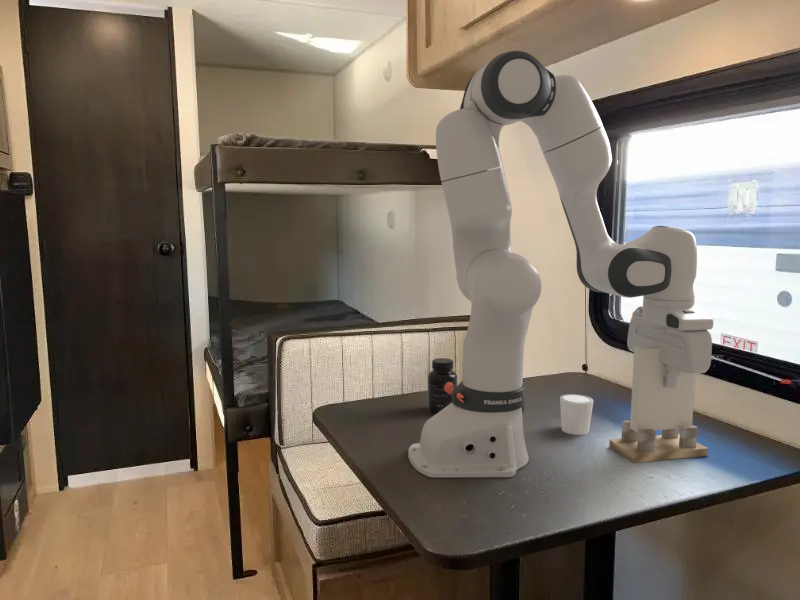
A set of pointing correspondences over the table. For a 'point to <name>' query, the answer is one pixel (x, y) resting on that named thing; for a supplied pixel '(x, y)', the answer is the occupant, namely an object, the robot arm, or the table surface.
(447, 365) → the supplement bottle
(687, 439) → the peg board base
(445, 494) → the table surface
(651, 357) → the rectangular slab
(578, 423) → the white cup
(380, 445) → the table surface
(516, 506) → the table surface
